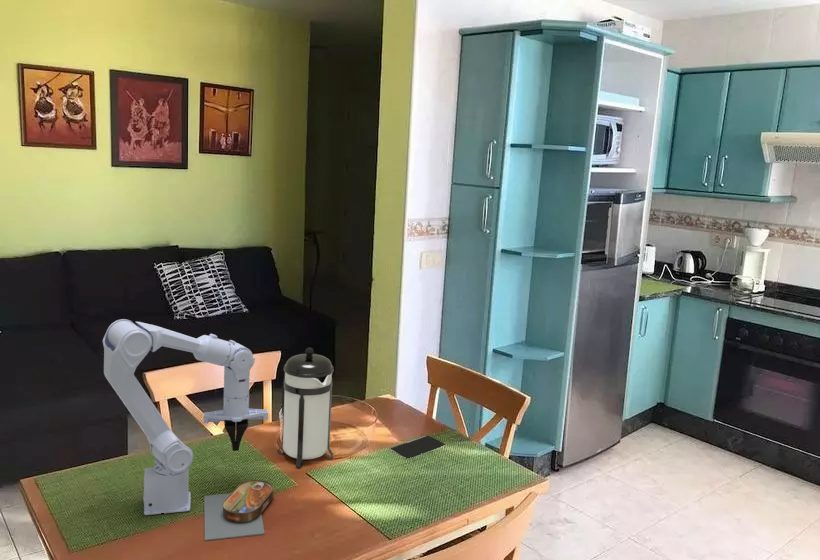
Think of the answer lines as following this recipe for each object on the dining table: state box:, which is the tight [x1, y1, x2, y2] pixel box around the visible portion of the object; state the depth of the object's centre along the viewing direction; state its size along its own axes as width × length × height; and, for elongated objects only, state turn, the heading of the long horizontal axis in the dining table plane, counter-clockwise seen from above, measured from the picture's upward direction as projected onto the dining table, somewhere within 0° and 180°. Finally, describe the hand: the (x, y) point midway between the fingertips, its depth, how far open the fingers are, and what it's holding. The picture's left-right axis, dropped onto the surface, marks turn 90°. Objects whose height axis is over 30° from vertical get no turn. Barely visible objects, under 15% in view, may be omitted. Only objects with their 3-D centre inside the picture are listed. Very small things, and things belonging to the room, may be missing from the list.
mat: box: [203, 492, 265, 542], centre depth 144 cm, size 12×18×1 cm, turn 17°
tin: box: [223, 479, 275, 522], centre depth 147 cm, size 15×3×8 cm
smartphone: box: [389, 435, 446, 459], centre depth 183 cm, size 8×1×15 cm
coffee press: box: [277, 347, 335, 469], centre depth 173 cm, size 17×16×30 cm
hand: (235, 449), depth 155 cm, fingers closed
